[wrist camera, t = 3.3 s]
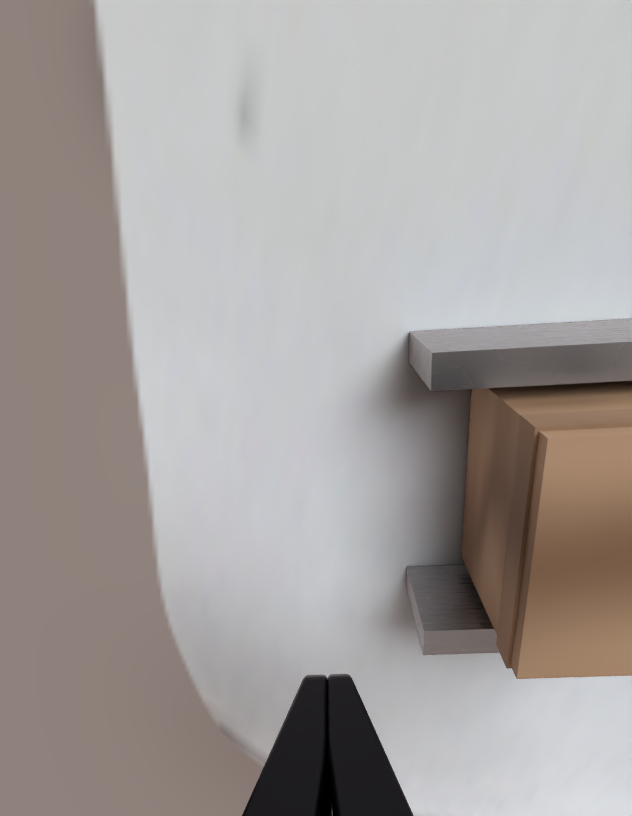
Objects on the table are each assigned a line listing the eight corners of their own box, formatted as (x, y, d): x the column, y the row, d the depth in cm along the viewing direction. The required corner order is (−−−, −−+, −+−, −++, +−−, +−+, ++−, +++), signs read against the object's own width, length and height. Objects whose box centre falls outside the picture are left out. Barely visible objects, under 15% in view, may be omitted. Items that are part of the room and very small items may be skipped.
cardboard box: (627, 551, 16) (752, 674, 12) (458, 557, 16) (512, 681, 12) (668, 361, 14) (848, 419, 9) (469, 372, 14) (543, 434, 9)
